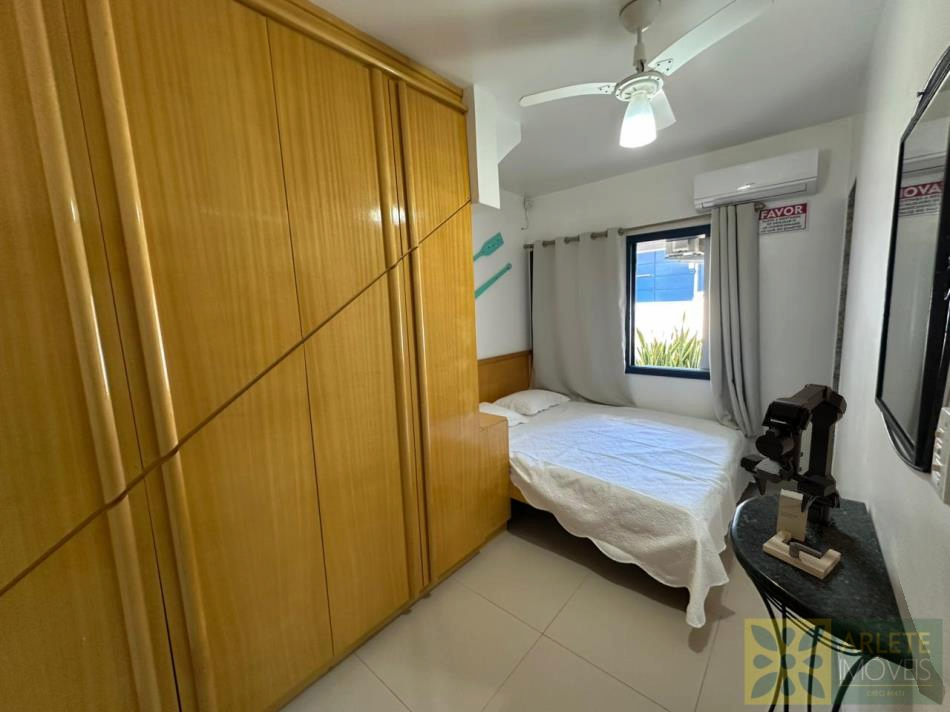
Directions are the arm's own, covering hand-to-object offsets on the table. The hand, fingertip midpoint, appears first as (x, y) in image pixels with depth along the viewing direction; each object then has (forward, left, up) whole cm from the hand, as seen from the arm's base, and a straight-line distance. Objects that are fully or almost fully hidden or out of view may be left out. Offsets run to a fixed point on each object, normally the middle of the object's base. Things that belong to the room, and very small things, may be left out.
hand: (781, 503), depth 94 cm
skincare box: (-11, -1, -14) cm, 18 cm away
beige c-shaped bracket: (-2, +4, -14) cm, 14 cm away
